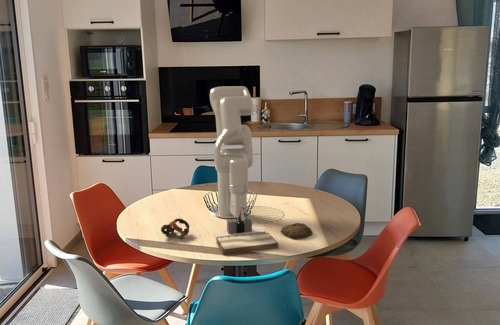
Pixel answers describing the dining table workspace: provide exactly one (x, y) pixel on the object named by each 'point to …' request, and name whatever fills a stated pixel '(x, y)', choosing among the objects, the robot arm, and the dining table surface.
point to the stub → (233, 229)
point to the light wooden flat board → (246, 243)
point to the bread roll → (296, 231)
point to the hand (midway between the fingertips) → (239, 230)
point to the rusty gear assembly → (175, 228)
